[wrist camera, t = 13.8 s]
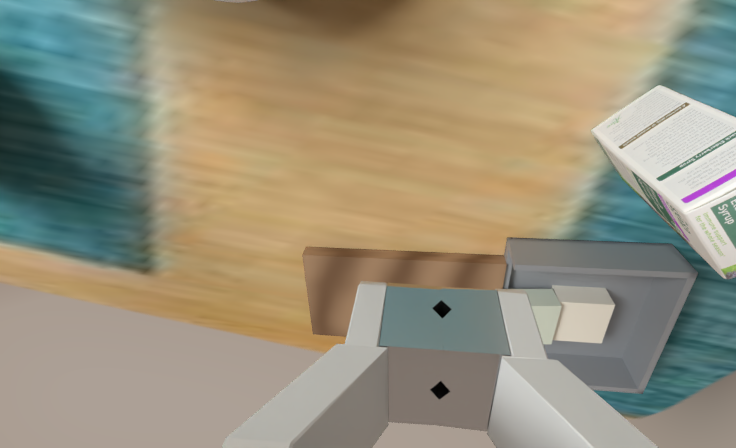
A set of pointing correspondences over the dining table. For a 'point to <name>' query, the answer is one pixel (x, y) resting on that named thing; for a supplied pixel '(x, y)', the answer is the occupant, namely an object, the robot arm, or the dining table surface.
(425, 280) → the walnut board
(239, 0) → the white purple floral bowl
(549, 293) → the sage tile
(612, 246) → the grey bin
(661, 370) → the dining table surface
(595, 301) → the cream tile
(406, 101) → the dining table surface
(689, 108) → the syrup box
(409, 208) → the dining table surface
